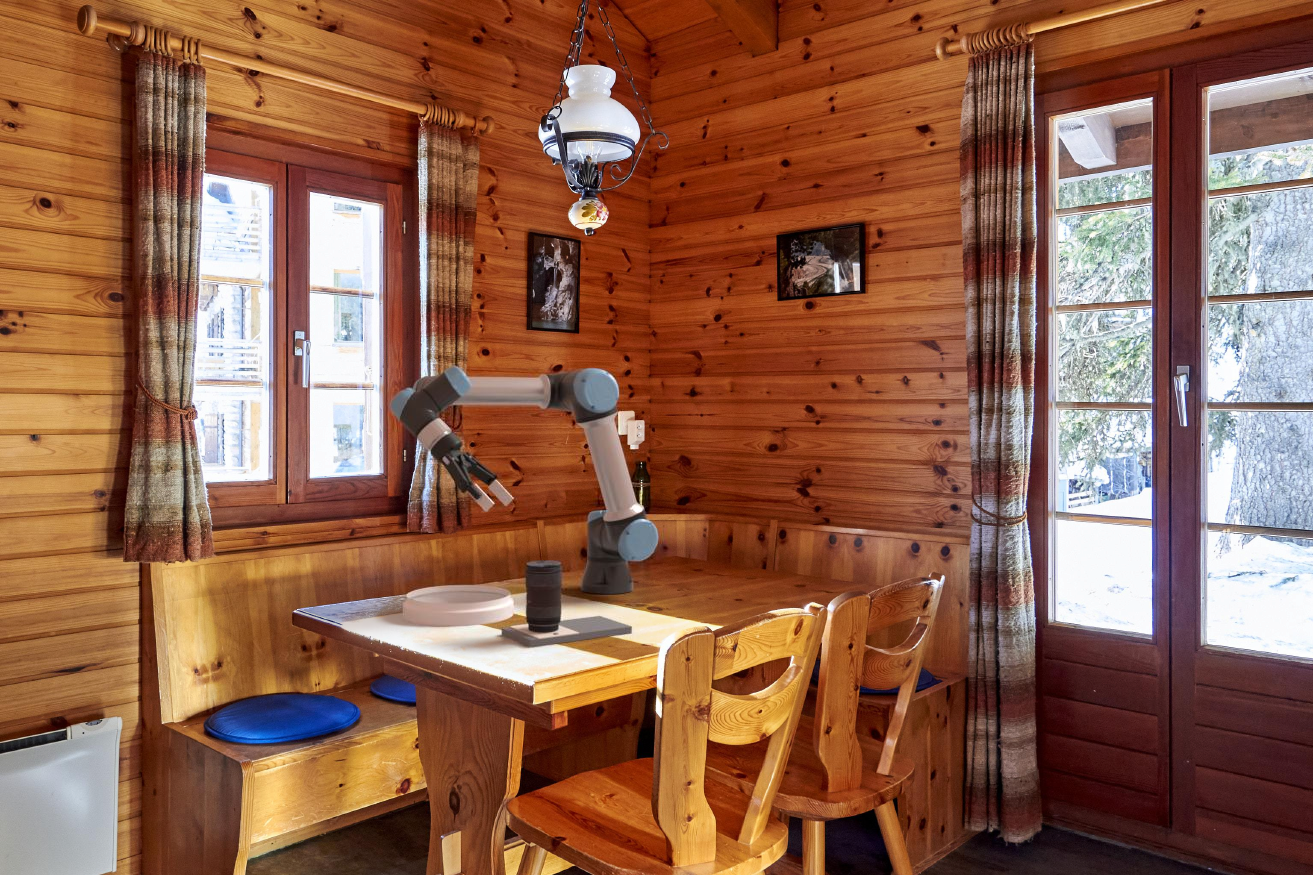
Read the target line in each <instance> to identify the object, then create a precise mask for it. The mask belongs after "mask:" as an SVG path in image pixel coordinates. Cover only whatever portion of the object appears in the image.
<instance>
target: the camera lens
mask: <svg viewBox="0 0 1313 875" xmlns="http://www.w3.org/2000/svg"><path fill="white" fill-rule="evenodd" d="M562 568H563V567H562V562H561V561H557V560H533V561H530V562H526V567H525V588H526V595H525V602H526V604H525V616H526V624H528V629H529V630H530V631H533V632H554V631H557V630H558V629H559V623H560V622H561V621H562V587H563V586H562V585H563V584H562V583H563V569H562Z"/></svg>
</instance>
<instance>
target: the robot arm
mask: <svg viewBox="0 0 1313 875" xmlns="http://www.w3.org/2000/svg"><path fill="white" fill-rule="evenodd" d="M619 397H620V390H619V385H618V382H617V380H616V379H615V377H614V376H613V375H612V374H611V373H609V372H608V371H607V370H604V369H600V368H595V367H587V368H583V369H575V370H569V371H563V372H558V373H542V374H540V375H539V376H538V377H523V376H522V377H516V376H515V377H514V376H511V377H508V376H507V377H506V376H505V377H504V376H467V373H465V372H464V371H463V369H461V367H458V366H457V365H451V366H450V367H448V368H447V369H445V370H443V371H442V373H440V374H437V375H425V376H423V377H419V378H418V379H417V380H416V381H415V382H414V385H413V386H412V387H406V388H404V389H402V390H400V391H399V392H398V393H396V394H395V395H394V396H393V397H392V399H391V401H390V403H389V410H390V411H391V413H392V414H393V415H394V417H396V419H397V420H398V421H399V423H401V424H402V425H403V426H404V427H405V428H406V429H407V430H408V431H409V433H411V434H412V435H413V436H414V438H415V439H416V440H417V441H418V442H419V443H420V444H419V445H420V447H422V448H423V447H424V448H425V449H426V450H427V451H428V452H430V455H431V456H432V457H433V458H434V459H435V461H437V463H439V464H442V465H443V467H444V468H445V469H446V471H447V472H448V474H449V476H450V477H451V478H452V480H453V482H454V483H455V485H456V487H457V489H459V490H460V492H461V493H462V494H466V492H467V493H468V495H470V497H471V498H472V499H473V500H474V502H476V504H478V505H479V506H480V507H481V509H483V511H485V512H486V513H487V512H488V511H489V510H490V509H491V508H492V507H493V506H494V505H495V502H494V501H493V500H492V499H491V498H490V497H489V496H488V495H487V493H486V492H484V491H483V490H482V488H480V485H478V484H477V483H474V482H473V480H472V478H471V476H473V477H474V478H476V479H478V480H480V481H481V482H482V483H484V484H485V485H487V488H488V489H489V491H491V492H492V493H493V495H494V496H496V498H497V499H498V500H499V501H500V502H501V503H502V505H504V506H505V507H507V506H508V505H510V503H511V502H512V501H513V500H514V498H515V497H513V495H511V494H510V492H508V490H507V489H505V488H506V487H504V486H503V485H502V484H501V483H500V482H499V481H498V478H499V475H498V474H496V473H494V472H493V471H492V470H490V469H489V468H488V467H487V466H486V465H485V464H482V463H481V461H479V460H478V459H476V457H474V456H473V455H472V454H471V453H470V452H469V451H466V453H465V452H463V451H461V449H462V447H463V444H464V443H463V441H462V439H461V438H459V436H457V434H455V433H454V432H452V428H451V427H449V426H448V425H447V423H445V421H443V420H442V419H441V418H440V416H438V415H440V414H441V413H443V411H445V410H446V409H448V408H449V407H450V406H538V407H539V408H540V409H541V410H543V409H547V410H558V411H565V412H569V413H570V412H571V413H573V416H574V420H575V423H576V424H577V425H578V426H580V427H582V429H583V431H584V435H585V438H586V441H587V445H588V448H589V452H590V455H591V460H592V463H593V467H594V471H595V473H596V478H597V480H598V484H599V488H600V491H601V492H600V493H601V496H602V499H603V502H604V505H605V509H606V510H594V511H593V510H592V511H591V512H589V513H588V516H587V523H586V526H587V537H586V538H587V541H586V542H587V544H586V545H587V547H586V548H587V550H586V552H587V556H586V558H587V559H586V560H587V562H586V565H585V569H584V572H583V574H582V578H581V581H580V590H581V592H585V593H589V594H597V595H598V594H599V595H619V594H624V593H625V594H626V593H629V592H632V591H634V580H633V577H632V573H631V570H630V568H629V565H628V561H629V562H642V561H644V560H646V559H648V558H649V557H651V555H653V553H654V552H655V549H656V548H657V546H658V542H659V533H658V529H657V527H656V525H655V524H654V523H653V522H652V521H650V520H648V517H647V514H646V510H645V507H644V506H643V505H642V504H640V503H638V501H637V497H636V494H635V491H634V488H633V487H634V486H633V484H632V480H631V476H630V473H629V469H628V465H627V462H626V458H625V455H624V451H623V447H622V444H621V441H620V436H619V434H618V429H617V425H616V421H615V418H616V416H617V415H618V413H619V411H618V408H617V403H618V399H619ZM470 475H471V476H470Z"/></svg>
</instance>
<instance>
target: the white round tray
mask: <svg viewBox="0 0 1313 875" xmlns="http://www.w3.org/2000/svg"><path fill="white" fill-rule="evenodd" d="M514 606H515V602H514V599H513V598H512V597H511V591H509V590H508V589H505V588H502V587H499V586H491V585H481V584H480V585H478V584H454V585H453V584H452V585H451V584H450V585H439V586H430V587H429V586H428V587H423V588H418V589H415V590H412V591H410V592H408V593H407V594H406V599H405V601H404V602H403V603H402V618H403V620H404V621H407V622H409V623H414V624H417V625H424V626H434V627H435V626H436V627H465V626H468V627H469V626H479V625H486V624H487V625H488V624H493V623H497V622H502V621H504V620H508V619H511V617H513V616H514V612H515V610H514V609H515V608H514Z"/></svg>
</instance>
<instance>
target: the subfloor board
mask: <svg viewBox="0 0 1313 875" xmlns="http://www.w3.org/2000/svg"><path fill="white" fill-rule="evenodd" d="M632 632H633V626H631V625H628V624H625V623H623V622H621V621H617V620H613V619H611V618H607V617H604V616H601V615H596V616H586V617H579V618H572V619H563V620H562V619H561V622H560V623H559V629H558V630H557V631H554V632H533V631H530V630H529V629H528V623H525V624H517V625H510V626H508V627H507V626H506V627H502V628H501V635H502V636H503V637H505V638H508V639H511V640H513V641H515V642H518V643H520V644H522V645H525V646H527V647H530V648H536V647H541V646H542V647H543V646H551V645H556V644H557V645H558V644H564V643H571V642H579V641H585V640H592V639H599V638H606V637H614V636H618V635H626V634H627V635H628V634H632Z"/></svg>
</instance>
